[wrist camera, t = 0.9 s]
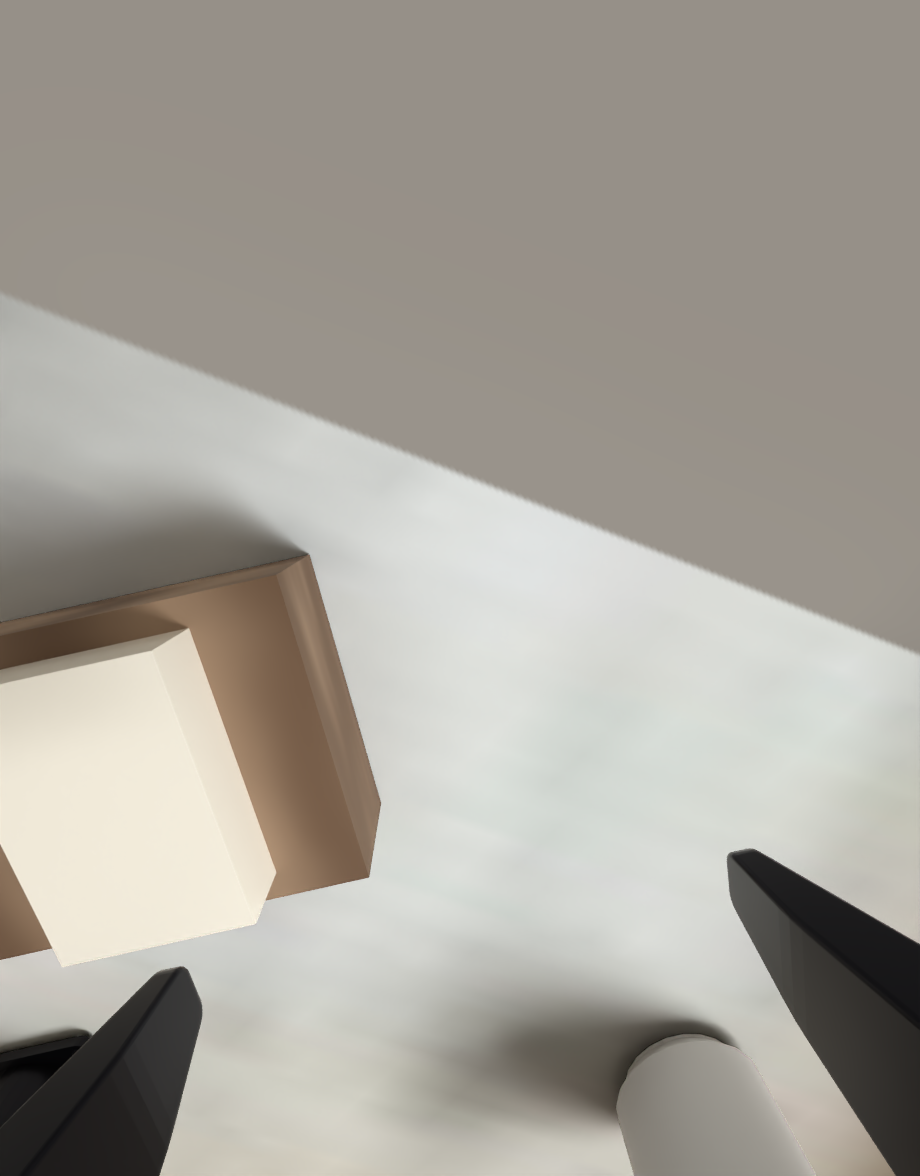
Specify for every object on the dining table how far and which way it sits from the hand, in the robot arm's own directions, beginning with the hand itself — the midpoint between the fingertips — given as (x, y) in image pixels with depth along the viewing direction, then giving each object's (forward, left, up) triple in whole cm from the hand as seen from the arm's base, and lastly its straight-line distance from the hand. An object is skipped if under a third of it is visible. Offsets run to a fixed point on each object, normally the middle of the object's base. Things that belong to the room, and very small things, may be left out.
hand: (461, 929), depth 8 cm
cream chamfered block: (-10, 0, -8) cm, 13 cm away
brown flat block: (-11, 0, -12) cm, 16 cm away
